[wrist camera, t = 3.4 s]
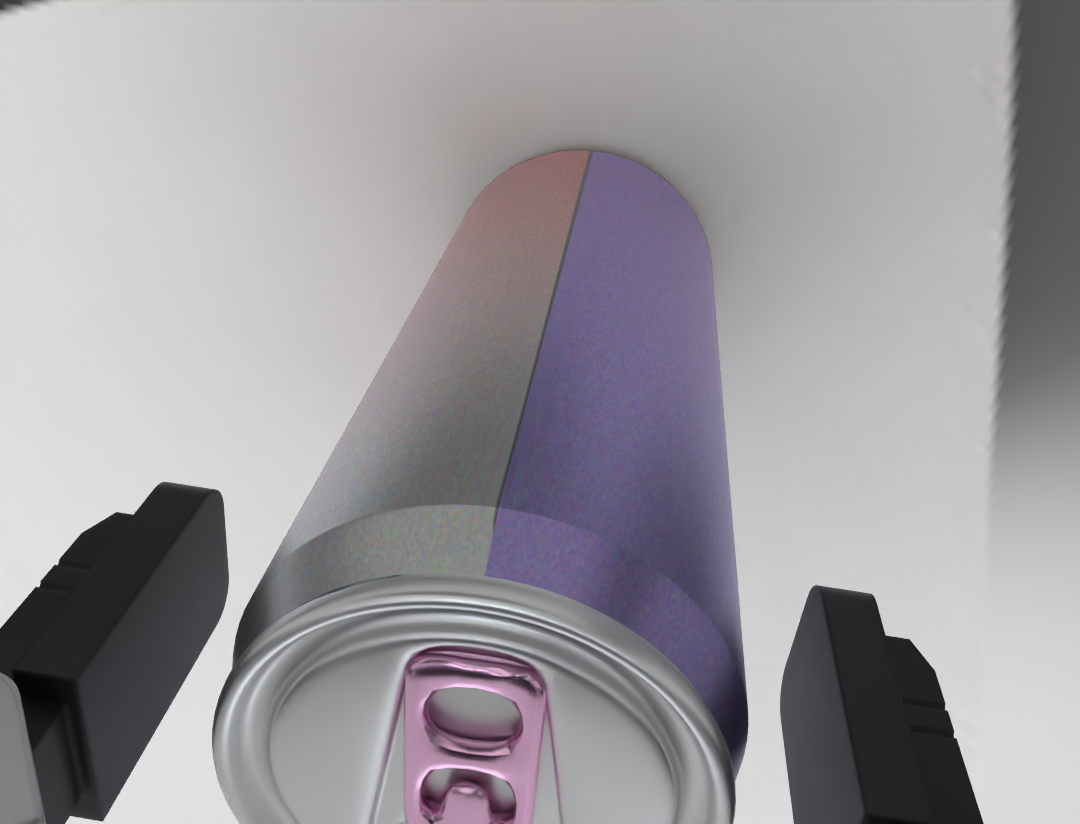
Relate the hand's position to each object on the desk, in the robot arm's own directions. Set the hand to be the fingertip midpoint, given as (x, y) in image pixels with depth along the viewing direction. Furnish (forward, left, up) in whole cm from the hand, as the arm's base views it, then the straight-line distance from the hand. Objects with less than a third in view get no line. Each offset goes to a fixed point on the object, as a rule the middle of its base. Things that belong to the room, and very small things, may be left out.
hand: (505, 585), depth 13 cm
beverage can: (0, 0, -12) cm, 12 cm away
